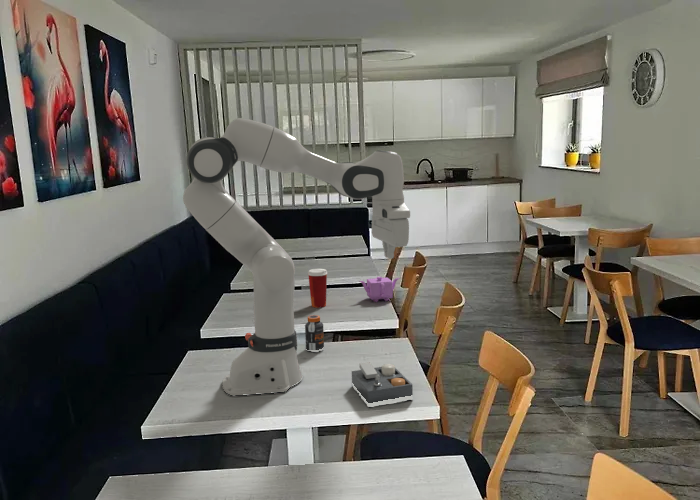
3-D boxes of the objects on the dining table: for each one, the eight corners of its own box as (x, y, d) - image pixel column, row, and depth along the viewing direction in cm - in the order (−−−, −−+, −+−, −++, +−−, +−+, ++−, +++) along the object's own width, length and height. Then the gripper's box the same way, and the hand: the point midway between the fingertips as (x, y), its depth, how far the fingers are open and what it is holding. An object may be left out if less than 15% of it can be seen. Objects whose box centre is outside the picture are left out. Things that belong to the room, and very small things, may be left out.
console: (368, 408, 146) (368, 380, 144) (352, 386, 159) (351, 360, 158) (412, 400, 149) (412, 373, 148) (392, 380, 162) (392, 355, 161)
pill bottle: (317, 354, 184) (315, 320, 182) (302, 351, 187) (300, 317, 185) (327, 348, 189) (326, 315, 187) (313, 345, 192) (311, 312, 190)
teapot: (395, 293, 255) (395, 271, 253) (404, 301, 242) (403, 278, 241) (355, 296, 252) (354, 274, 250) (362, 304, 239) (361, 281, 237)
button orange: (394, 398, 149) (394, 384, 148) (389, 393, 152) (389, 379, 152) (407, 396, 150) (407, 382, 149) (402, 391, 153) (401, 377, 153)
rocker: (366, 378, 152) (366, 375, 152) (359, 367, 158) (359, 363, 157) (377, 377, 153) (377, 373, 153) (369, 365, 158) (369, 361, 158)
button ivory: (384, 383, 155) (384, 369, 155) (380, 378, 159) (379, 365, 158) (397, 381, 156) (396, 367, 156) (392, 376, 160) (392, 363, 159)
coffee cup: (332, 304, 241) (331, 269, 238) (321, 309, 234) (319, 273, 231) (316, 302, 245) (314, 267, 242) (304, 306, 238) (303, 271, 235)
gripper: (365, 206, 170) (367, 252, 173) (390, 213, 151) (391, 265, 153) (386, 205, 172) (386, 250, 174) (412, 212, 153) (413, 263, 155)
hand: (389, 257), depth 164 cm, fingers closed
